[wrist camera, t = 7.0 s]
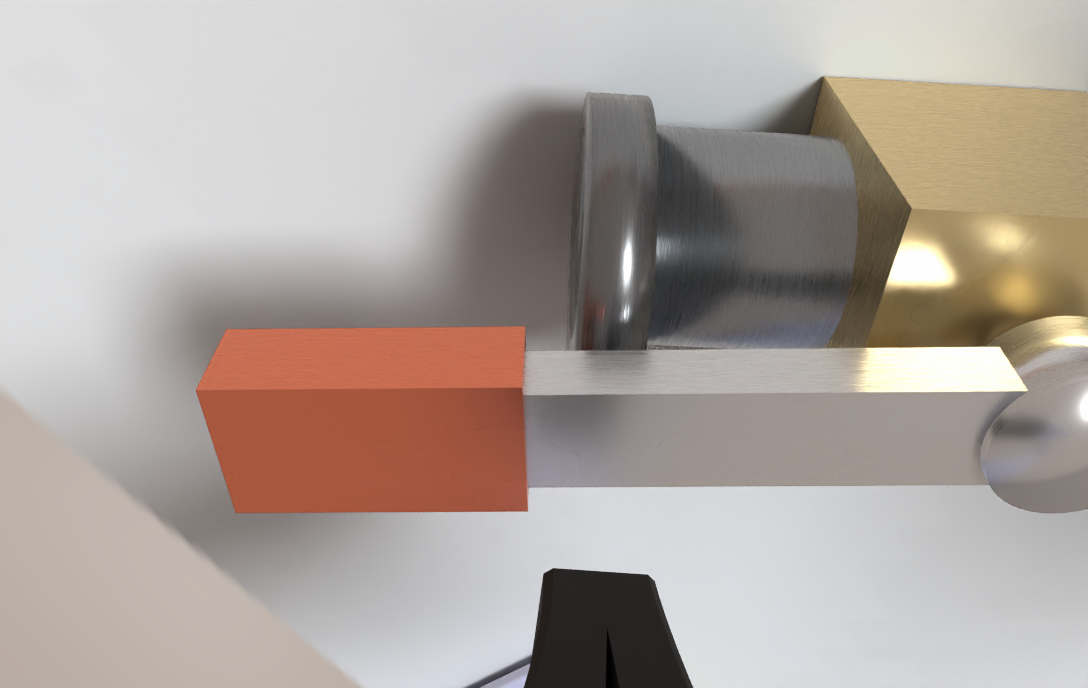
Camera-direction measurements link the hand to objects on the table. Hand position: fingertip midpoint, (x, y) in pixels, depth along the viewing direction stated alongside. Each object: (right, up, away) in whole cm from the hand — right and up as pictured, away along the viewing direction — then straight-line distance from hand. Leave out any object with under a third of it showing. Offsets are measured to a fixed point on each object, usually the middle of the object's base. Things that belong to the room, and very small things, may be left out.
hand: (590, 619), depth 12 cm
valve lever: (+1, +3, +2) cm, 4 cm away
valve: (+7, +7, +7) cm, 12 cm away
